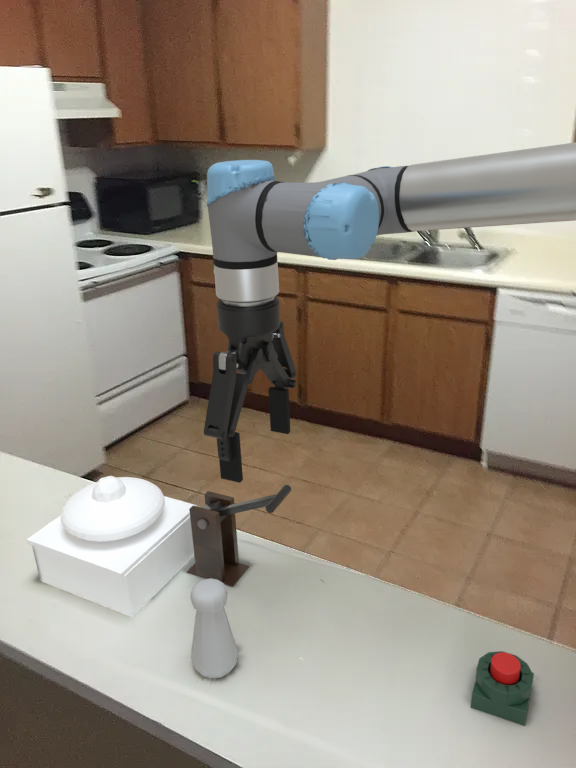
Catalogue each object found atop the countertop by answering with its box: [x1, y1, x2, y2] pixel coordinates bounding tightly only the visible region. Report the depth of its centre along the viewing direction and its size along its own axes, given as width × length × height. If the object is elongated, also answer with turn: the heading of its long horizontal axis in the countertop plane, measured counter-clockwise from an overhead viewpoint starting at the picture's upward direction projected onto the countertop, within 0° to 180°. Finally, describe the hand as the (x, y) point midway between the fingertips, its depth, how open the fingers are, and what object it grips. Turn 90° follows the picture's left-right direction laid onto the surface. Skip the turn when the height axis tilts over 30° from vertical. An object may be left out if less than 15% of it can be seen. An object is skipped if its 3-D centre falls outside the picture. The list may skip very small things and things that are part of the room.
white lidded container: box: [26, 475, 198, 619], centre depth 99 cm, size 18×18×16 cm
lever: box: [202, 484, 292, 522], centre depth 93 cm, size 14×6×2 cm, turn 64°
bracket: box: [186, 490, 250, 588], centre depth 97 cm, size 8×6×13 cm
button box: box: [470, 650, 535, 727], centre depth 78 cm, size 6×6×4 cm
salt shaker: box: [190, 578, 239, 679], centre depth 81 cm, size 6×6×13 cm
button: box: [490, 651, 521, 685], centre depth 77 cm, size 3×3×2 cm
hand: (257, 454), depth 88 cm, fingers open, 13 cm apart
